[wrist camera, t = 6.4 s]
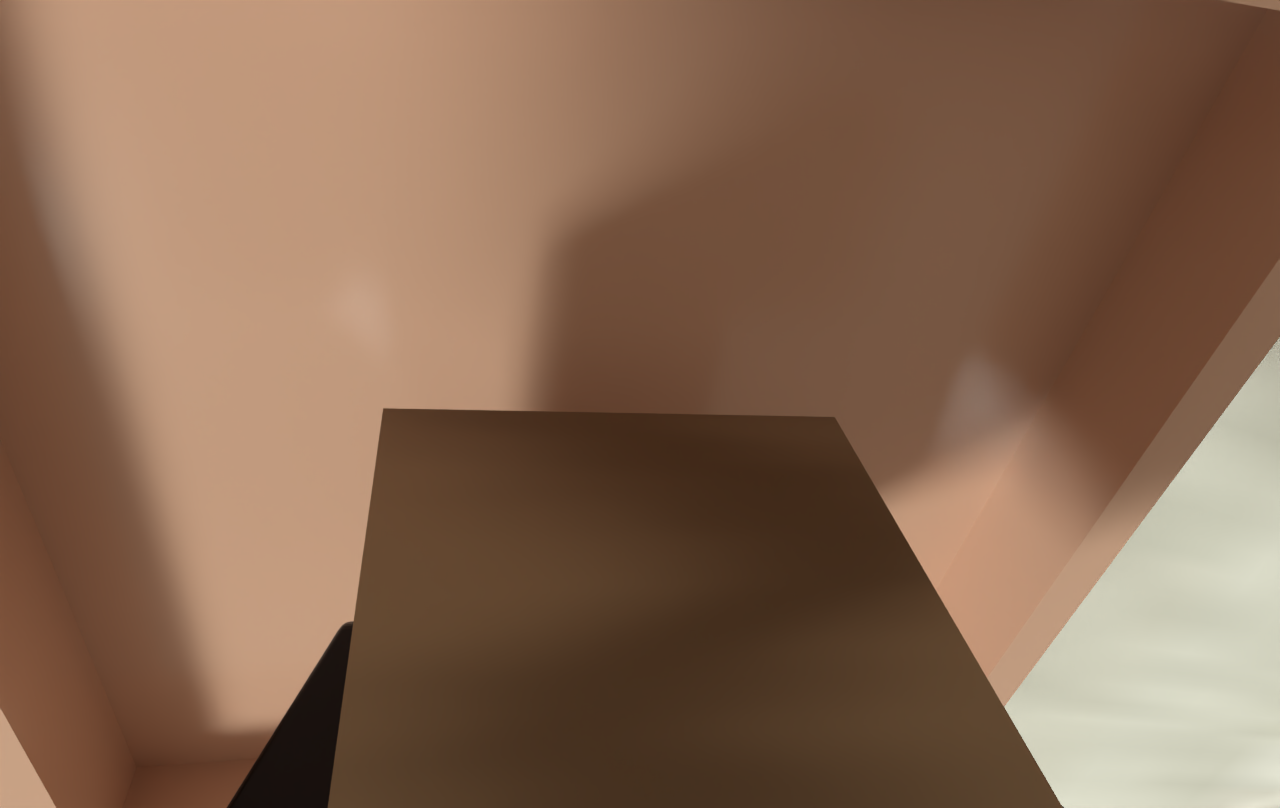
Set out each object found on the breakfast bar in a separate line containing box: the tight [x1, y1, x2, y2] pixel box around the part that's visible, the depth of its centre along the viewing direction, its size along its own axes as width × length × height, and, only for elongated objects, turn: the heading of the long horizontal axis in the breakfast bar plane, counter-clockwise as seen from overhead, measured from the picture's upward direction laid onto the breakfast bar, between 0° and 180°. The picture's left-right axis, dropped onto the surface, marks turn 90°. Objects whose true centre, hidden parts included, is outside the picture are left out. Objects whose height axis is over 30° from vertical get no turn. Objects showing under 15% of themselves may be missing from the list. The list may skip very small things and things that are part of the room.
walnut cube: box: [328, 408, 1063, 808], centre depth 8 cm, size 5×5×5 cm
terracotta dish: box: [0, 0, 1280, 808], centre depth 11 cm, size 16×16×2 cm
